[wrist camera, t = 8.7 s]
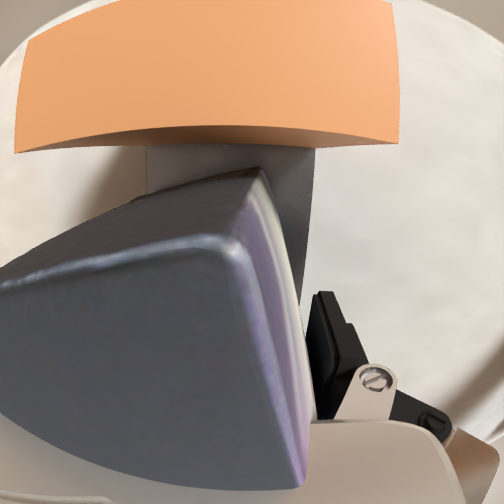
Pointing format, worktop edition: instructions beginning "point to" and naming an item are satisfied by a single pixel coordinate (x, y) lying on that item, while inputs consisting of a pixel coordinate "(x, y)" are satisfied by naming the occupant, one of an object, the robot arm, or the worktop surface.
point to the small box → (165, 340)
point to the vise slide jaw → (213, 75)
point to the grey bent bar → (243, 157)
